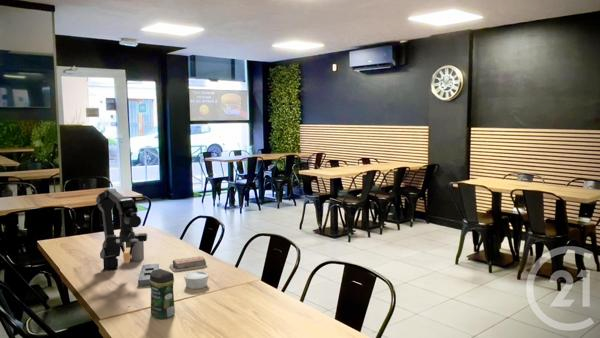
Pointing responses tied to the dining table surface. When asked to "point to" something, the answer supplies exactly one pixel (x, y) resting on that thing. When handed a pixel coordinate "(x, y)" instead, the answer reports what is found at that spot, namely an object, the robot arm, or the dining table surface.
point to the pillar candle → (136, 250)
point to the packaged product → (188, 263)
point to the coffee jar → (162, 294)
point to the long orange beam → (127, 255)
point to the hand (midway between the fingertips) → (127, 255)
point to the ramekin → (196, 280)
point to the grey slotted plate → (146, 274)
